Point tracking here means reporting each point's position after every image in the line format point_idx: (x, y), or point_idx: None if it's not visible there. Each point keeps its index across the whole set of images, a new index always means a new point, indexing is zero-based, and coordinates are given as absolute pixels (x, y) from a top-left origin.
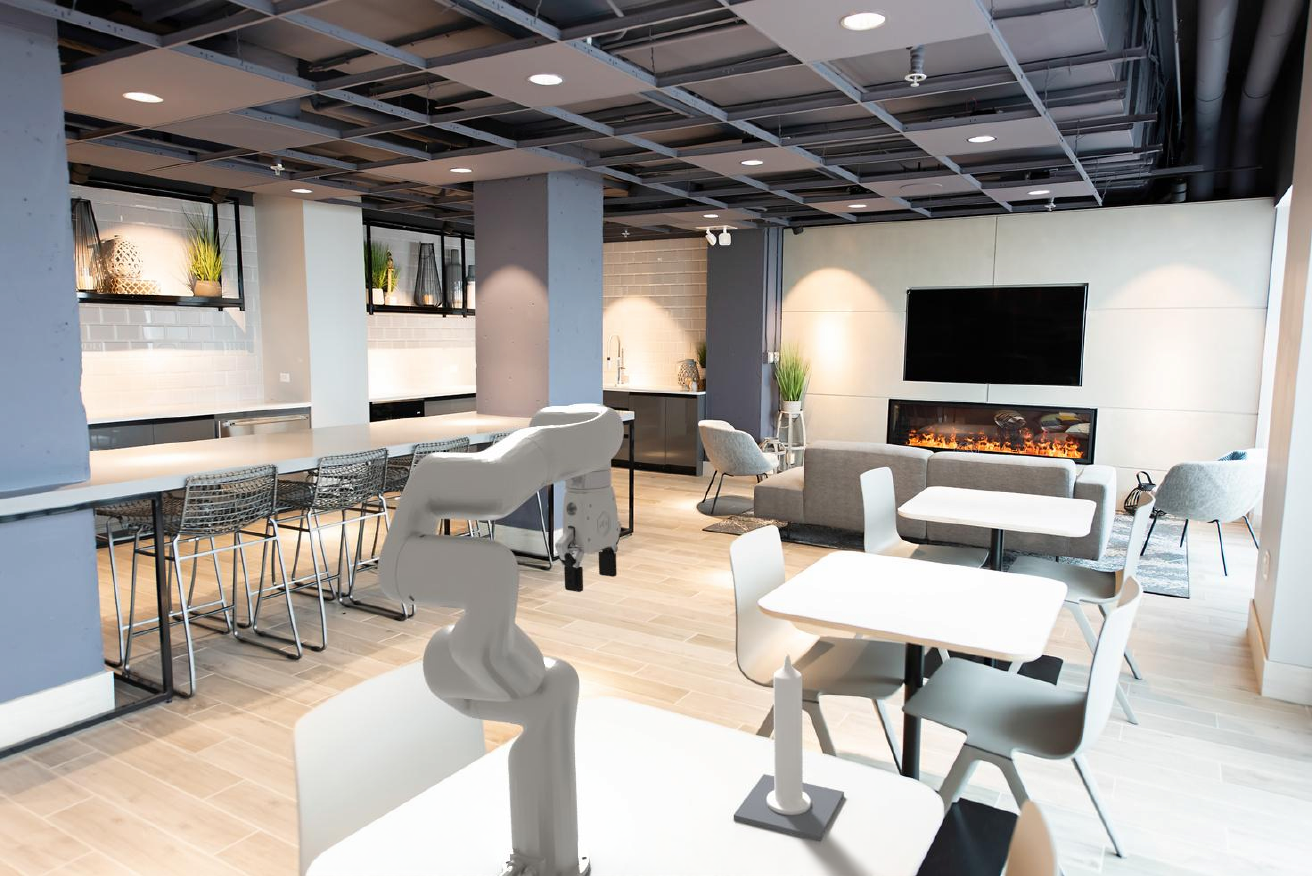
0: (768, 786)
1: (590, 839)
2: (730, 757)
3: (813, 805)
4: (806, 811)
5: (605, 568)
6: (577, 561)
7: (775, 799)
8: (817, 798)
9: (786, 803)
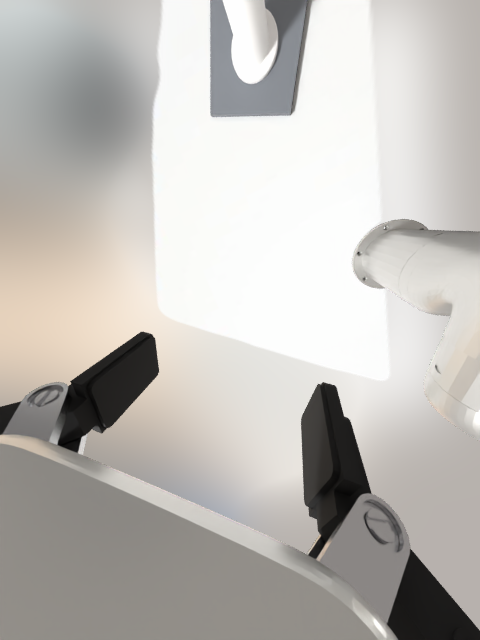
0: (230, 96)
1: (343, 239)
2: (191, 172)
3: None
4: None
5: (142, 371)
6: (392, 552)
7: (261, 62)
8: None
9: (268, 37)
